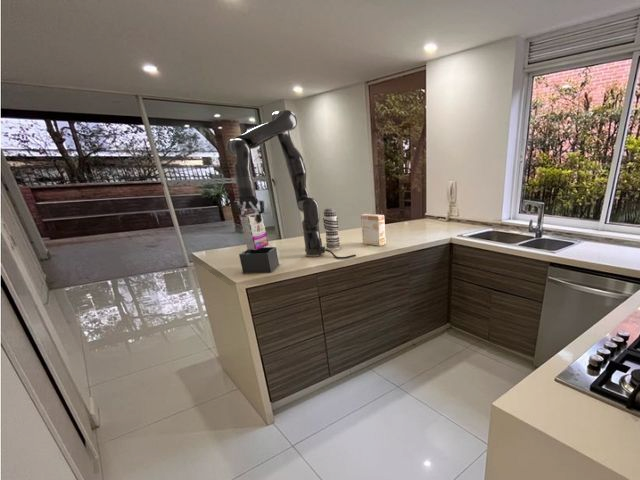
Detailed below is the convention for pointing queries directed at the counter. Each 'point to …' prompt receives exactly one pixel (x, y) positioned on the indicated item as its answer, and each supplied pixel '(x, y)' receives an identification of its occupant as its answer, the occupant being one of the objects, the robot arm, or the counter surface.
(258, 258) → the bin
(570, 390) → the counter surface
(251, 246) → the candy bar box
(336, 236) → the decorative candle
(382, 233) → the coffeecake box
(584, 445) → the counter surface
